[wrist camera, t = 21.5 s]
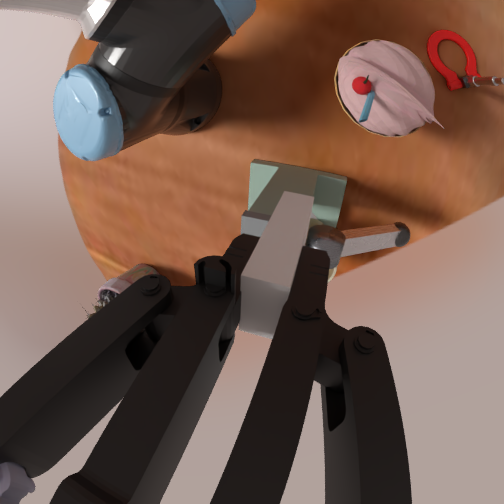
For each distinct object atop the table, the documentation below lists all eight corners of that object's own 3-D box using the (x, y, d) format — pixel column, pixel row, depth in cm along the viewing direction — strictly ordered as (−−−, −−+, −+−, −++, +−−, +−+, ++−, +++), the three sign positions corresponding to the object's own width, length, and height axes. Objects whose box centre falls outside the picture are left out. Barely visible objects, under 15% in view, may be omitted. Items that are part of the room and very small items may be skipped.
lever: (297, 250, 30) (314, 273, 28) (302, 225, 29) (320, 247, 26) (393, 234, 35) (411, 251, 32) (400, 215, 33) (419, 231, 30)
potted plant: (147, 307, 78) (103, 370, 59) (113, 255, 69) (55, 316, 50) (192, 307, 70) (146, 384, 51) (155, 246, 61) (88, 321, 42)
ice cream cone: (386, 136, 34) (422, 181, 19) (322, 97, 34) (308, 107, 18) (420, 80, 27) (483, 83, 12) (354, 38, 27) (368, -1, 12)
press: (249, 242, 53) (208, 315, 38) (254, 156, 43) (201, 207, 28) (326, 259, 50) (312, 343, 35) (347, 174, 40) (349, 239, 25)
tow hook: (416, 37, 24) (444, 92, 27) (443, 16, 13) (482, 94, 16) (457, 27, 19) (483, 81, 22) (493, 9, 9) (527, 83, 12)
